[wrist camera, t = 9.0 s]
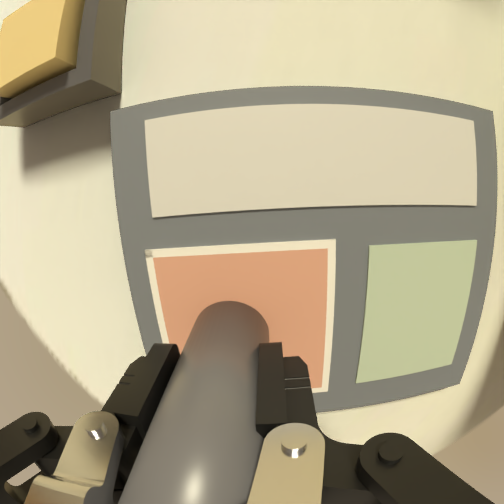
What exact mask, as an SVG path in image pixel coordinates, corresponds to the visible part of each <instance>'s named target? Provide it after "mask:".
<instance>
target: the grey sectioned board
mask: <svg viewBox="0 0 504 504" xmlns="http://www.w3.org/2000/svg"><path fill="white" fill-rule="evenodd" d="M110 126H111V149H112V164H113V177H114V187H115V197H116V206H117V214H118V221H119V229H120V235H121V242H122V248H123V254H124V260H125V265H126V271H127V276H128V281H129V286H130V291H131V296H132V300H133V305H134V309H135V313H136V318H137V322H138V326H139V330H140V334H141V337H142V341H143V345H144V349H145V352H146V356H147V354H148V352H149V351H150V349H151V347H152V346H153V344H154V343H168V344H177V346H178V348H179V352H180V355H181V353H182V350H183V348H184V346H185V343H186V341H187V339H188V337H189V335H190V332H191V330H192V328H193V326H194V323H195V321H196V319H197V317H198V315H199V314H200V313H201V312H202V311H203V310H204V309H205V308H206V307H208V306H210V305H211V304H214V303H217V302H221V301H237V302H241V303H244V304H247V305H249V306H251V307H252V308H254V309H255V310H257V311H258V312H259V313H260V314H261V315H262V316H263V318H264V319H265V321H266V323H267V325H268V328H269V343H271V342H282V350H283V357H291V356H299V357H300V358H301V359H302V360H303V361H304V362H305V363H306V364H307V366H308V371H309V379H310V382H311V388H312V394H313V399H314V405H315V411H316V413H317V412H326V411H335V410H342V409H350V408H356V407H363V406H369V405H374V404H380V403H385V402H390V401H395V400H400V399H404V398H409V397H413V396H417V395H421V394H425V393H429V392H433V391H436V390H440V389H443V388H447V387H450V386H454V385H457V384H460V381H461V378H462V376H463V373H464V370H465V367H466V364H467V362H468V359H469V356H470V352H471V349H472V346H473V343H474V339H475V336H476V332H477V329H478V325H479V321H480V317H481V313H482V309H483V305H484V300H485V296H486V291H487V286H488V280H489V274H490V268H491V262H492V255H493V247H494V237H495V227H496V212H497V152H496V138H495V127H494V118H493V111H490V110H486V109H482V108H479V107H475V106H471V105H467V104H463V103H458V102H454V101H449V100H444V99H439V98H434V97H428V96H422V95H416V94H410V93H403V92H395V91H386V90H377V89H366V88H352V87H331V86H280V87H259V88H245V89H233V90H223V91H215V92H207V93H199V94H192V95H186V96H180V97H174V98H168V99H163V100H157V101H153V102H148V103H143V104H138V105H134V106H130V107H126V108H122V109H118V110H114V111H110Z"/></svg>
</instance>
